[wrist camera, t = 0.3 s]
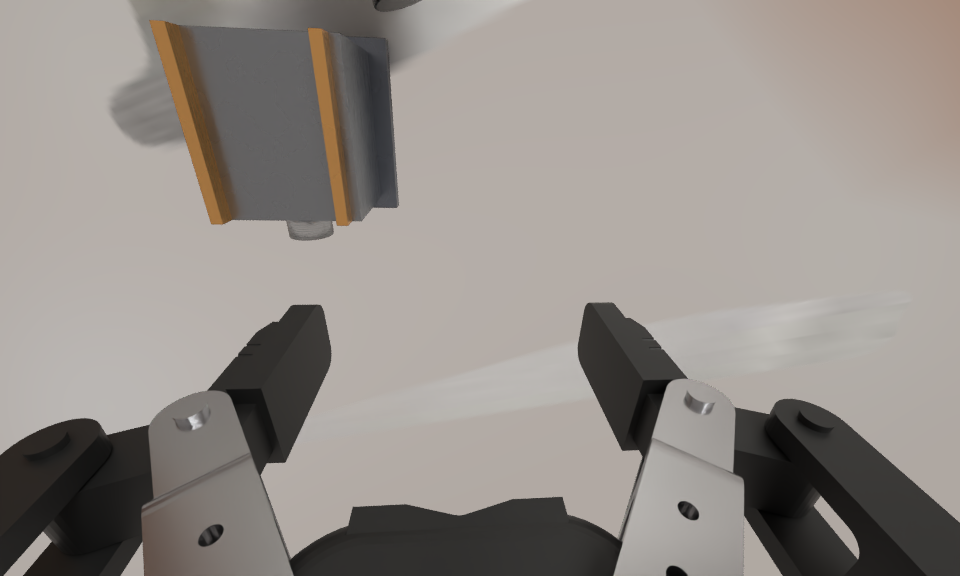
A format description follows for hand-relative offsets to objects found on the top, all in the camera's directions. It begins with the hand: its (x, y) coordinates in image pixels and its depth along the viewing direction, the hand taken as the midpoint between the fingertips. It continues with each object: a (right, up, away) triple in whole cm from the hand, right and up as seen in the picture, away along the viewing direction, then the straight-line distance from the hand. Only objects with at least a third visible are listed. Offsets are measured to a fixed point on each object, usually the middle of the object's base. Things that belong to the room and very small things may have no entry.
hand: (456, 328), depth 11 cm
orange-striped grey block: (-14, +16, +22) cm, 31 cm away
